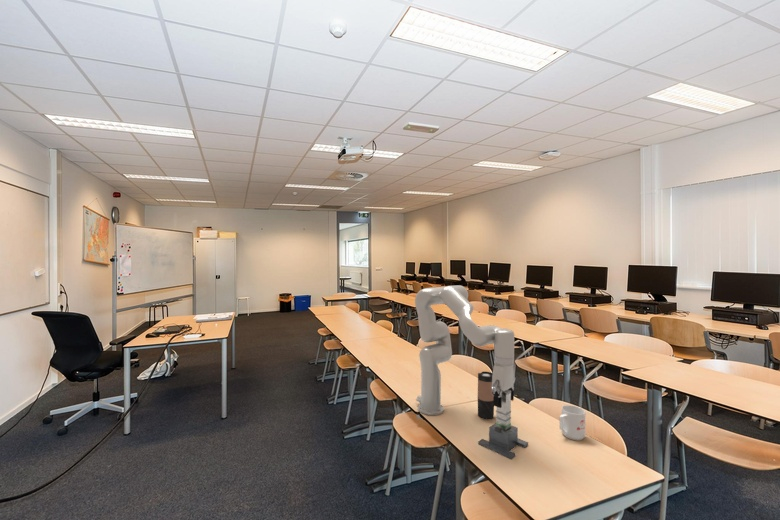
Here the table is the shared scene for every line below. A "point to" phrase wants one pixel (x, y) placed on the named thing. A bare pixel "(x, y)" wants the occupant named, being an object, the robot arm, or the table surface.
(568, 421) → the mug
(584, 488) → the table surface
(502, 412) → the column
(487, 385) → the travel mug
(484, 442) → the stand
